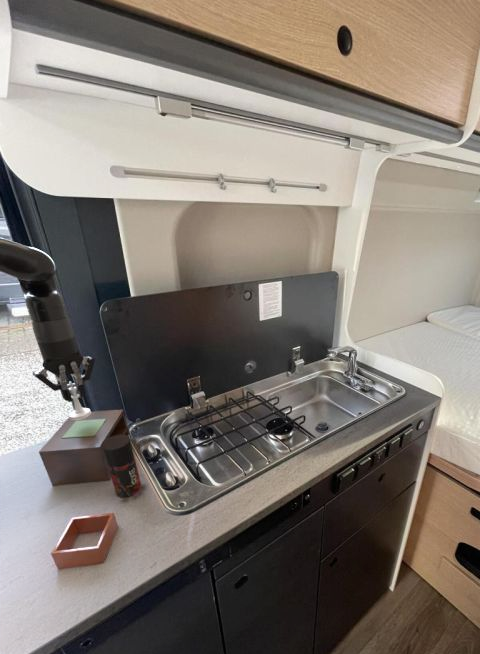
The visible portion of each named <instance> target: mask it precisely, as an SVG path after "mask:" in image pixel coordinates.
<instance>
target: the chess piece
mask: <svg viewBox="0 0 480 654" xmlns="http://www.w3.org/2000/svg"><path fill="white" fill-rule="evenodd" d="M67 388H68V389H69V391H70V394H71V397H72V400H73V404H74V405H73V406H74V410H73V411H71V412H69V415H68V416H69V417H70V419H72V420H79V419H83V418H86V417H88V416H89V415H90V414H91V412H92V411H91V409H90V408H89V407H83V406H82V404H81V403H80V400H79V398H80V395H79V394H77V387H75V382H72V381H69V382H68V383H67Z"/></svg>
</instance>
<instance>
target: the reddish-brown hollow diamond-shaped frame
mask: <svg viewBox="0 0 480 654" xmlns="http://www.w3.org/2000/svg"><path fill="white" fill-rule="evenodd" d="M118 529H119V524H118V521H117V519H116V515H115V512H112V513H102V514H91V515H83V516H73V517H71V519H70V520H69V522H68V524H67V526H66V527H65V529H64V531H63V532H62V533H61V535H60V538H59V539H58V541H57V542H56V544H55V546H54V548H53V549H52V551H51V552H50V556H51V558H52V559H53V562H54V565H55V566H56V568H57V570H60V569H68V568H76V567H83V566H85V567H86V566H90V565H91V566H92V565H93V566H94V565H99V564H105V561H106V559H107V556H108V554H109V551H110V549H111V546H112V544H113V542H114V539H115V537H116V534H117V532H118ZM97 532H102V533H101V535H100V538H99V539H98V542H97V545H94V546H87V547H77V548H73V546H74V545H75V543H76V540H77V538H78V537H79V535H80V534H91V533H97Z"/></svg>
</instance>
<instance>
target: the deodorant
mask: <svg viewBox="0 0 480 654" xmlns="http://www.w3.org/2000/svg"><path fill="white" fill-rule="evenodd" d="M130 438H131V437H130ZM130 438H129V436H127V435H115V436H112V437H110V438H108V439H106V440H105V441H104V442H103V443H102V448H103V452H104V455H105V458H106V462H107V465H108V468H109V472H110V475H111V481H112V485H113V488H114V491H115V495H116V496H117V497H118V498H121V499H128V498H131V497H133V496H135V495H136V494H137V493H139V492H140V491H141V490H142V482H141V477H140V474H139V470H138V466H137V463H136V458H135V454H134V450H133V446H132V442H131V439H130Z"/></svg>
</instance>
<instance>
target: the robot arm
mask: <svg viewBox="0 0 480 654" xmlns="http://www.w3.org/2000/svg"><path fill="white" fill-rule="evenodd" d="M0 272H1V273H2V274H6V275H8V276H11V277H14V278H16V280H17V282H18V285H19V286H20V289H21V291H22V293H23V297H24V301H25V302H24V303H25V306H26V310H27V312H28V315H29V318H30V321H31V326H32V332H33V334H34V337H35V340H36V343H37V346H38V348H39V352H40V355H41V357H42V367H41V368H39V369H38V370H35V371H33V372H32V376H33V377H34V378H36V379H38V380H39V381H40V382H42V383H43V384H44V385H46V386H47V387H48V388H50V389H51V390H52V391H54V392H57V391H60V394H61V397H62V399H63V400H64V401H65V402H68V403H72V402H74V400H73V399H72V397H71V396H72V395H71V393H70V391H69V387H67V384H68V382H67V381H68V380H67V376H69V375H70V376H71V378H72V380H73V383H75V385H74V387H77V394H79V395H80V397H79V398H80V399H83V398H85V395H86V393H87V392H86V390H85V389H86V388H85V385H84V383H85V382H87V381H89V380H90V379H91V375H92V372H93V369H94V365H95V362H96V360H95V358H93V357H92V356H84V355H83V354H82V353H81V352H80V349H79V345H78V342H77V338H76V335H75V329H74V328H73V324H72V322H71V320H70V317H69V316H68V312H67V309H66V305H65V302H64V300H63V296H62V295H61V294H60V292H59V289H58V287H57V282H56V280H55V274H56V265H55V262H54V260H53V259H52V258H51V257H50V256H49V255H48V254H47V253H46V252H44V251H42V250H40V249H38V248H36V247H31V246H27V245H24V244H21V243H18V242H15V241H12V240H9V239H6V238H3V237H0ZM82 364H83V366H82V370H81V372H80V367H81V365H82ZM47 372H49V373H51V374H53V375H54V376H55V380H56V383H54V382H53V381H51V380H50V379H49V378H48V376H49V375H48V373H47Z"/></svg>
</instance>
